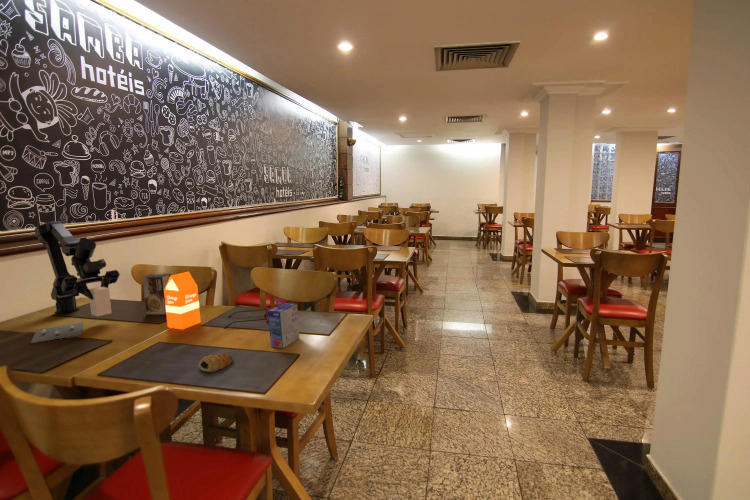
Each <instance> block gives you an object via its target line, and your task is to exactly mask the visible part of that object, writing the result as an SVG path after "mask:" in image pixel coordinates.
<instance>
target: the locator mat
mask: <svg viewBox="0 0 750 500" xmlns="http://www.w3.org/2000/svg"><path fill="white" fill-rule="evenodd" d="M71 325H74V330H70V326H71ZM83 327H84V323H83V322H76V323H72V324H71V323H70V324H65V325H58V326H52V327H45V328H40V329H36V331H35V333H34V335H33V337H32V339H31V341H30V344H31V343H36V342H41V341H47V340H54V339H60V340H63V339H62V338H65V339H70V338H77V337H82V333H83ZM42 330H46V334H45V335H42ZM55 331H59V334H60V335H58V336H55ZM54 341H55V340H54ZM36 344H37V343H36Z"/></svg>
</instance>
